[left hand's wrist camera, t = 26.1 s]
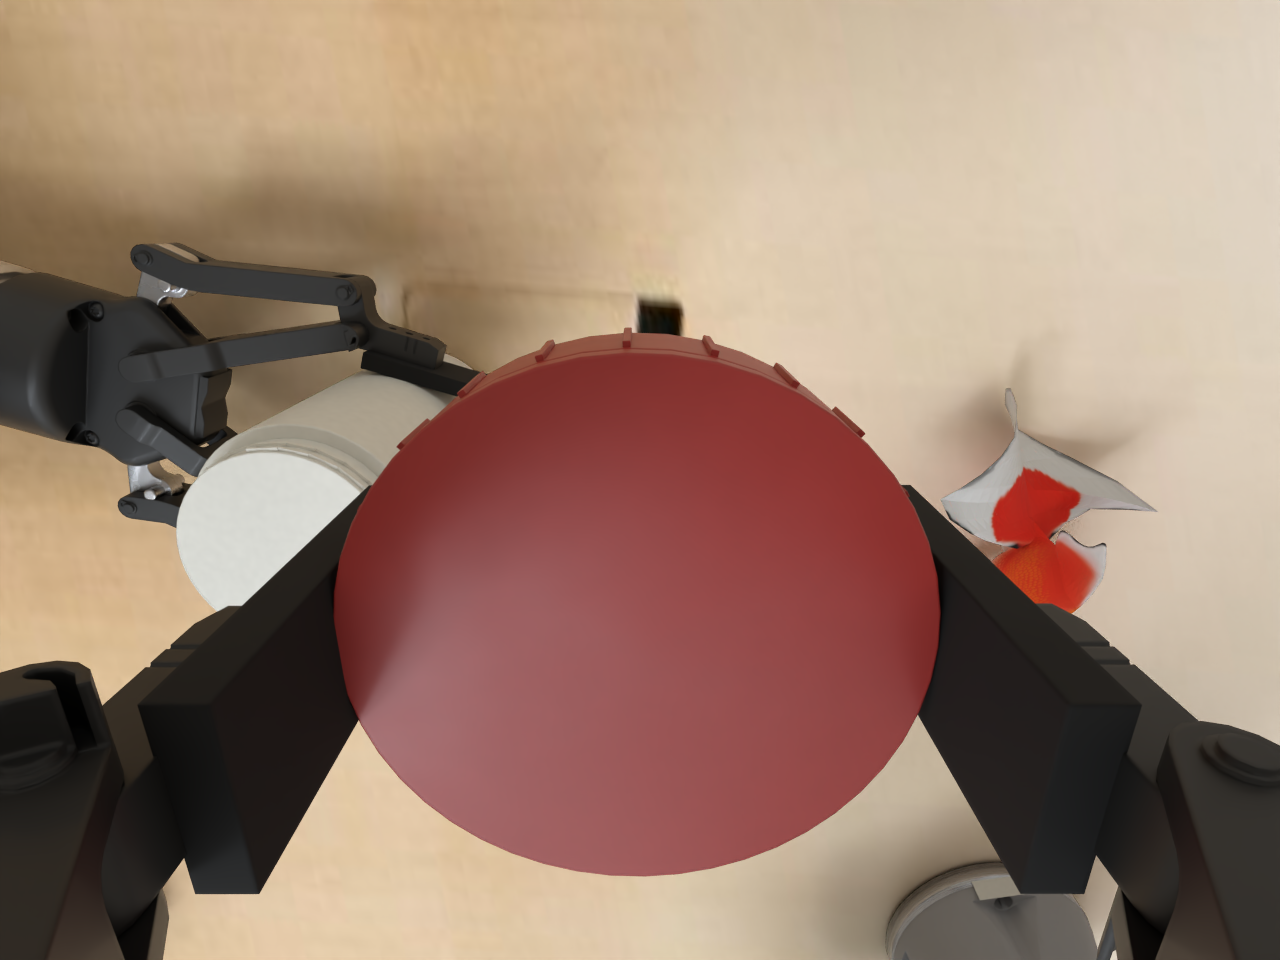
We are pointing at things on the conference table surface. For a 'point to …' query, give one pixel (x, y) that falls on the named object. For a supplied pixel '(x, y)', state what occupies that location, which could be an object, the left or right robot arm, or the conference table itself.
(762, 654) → the lid
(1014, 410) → the fish
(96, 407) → the right robot arm
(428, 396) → the jar
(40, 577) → the conference table surface
